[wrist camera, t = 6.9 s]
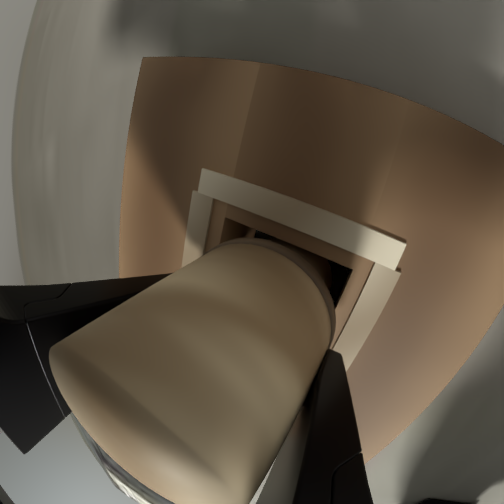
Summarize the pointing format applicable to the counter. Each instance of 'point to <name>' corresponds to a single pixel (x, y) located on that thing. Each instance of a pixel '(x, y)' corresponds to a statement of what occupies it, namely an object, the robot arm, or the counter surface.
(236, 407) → the peg
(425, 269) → the seat block
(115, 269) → the counter surface
